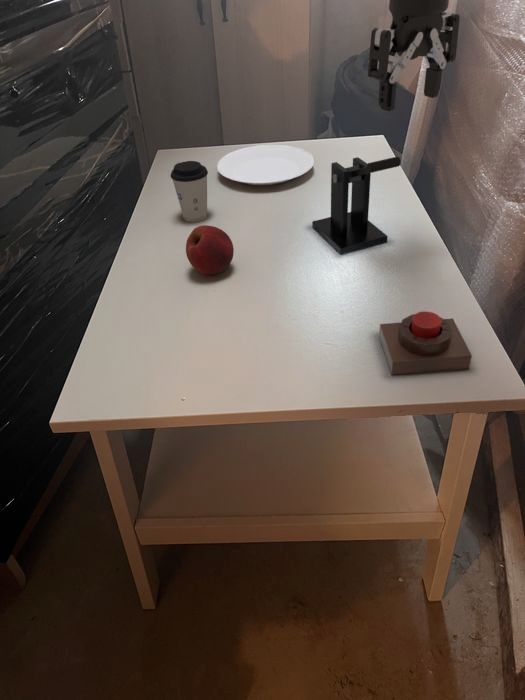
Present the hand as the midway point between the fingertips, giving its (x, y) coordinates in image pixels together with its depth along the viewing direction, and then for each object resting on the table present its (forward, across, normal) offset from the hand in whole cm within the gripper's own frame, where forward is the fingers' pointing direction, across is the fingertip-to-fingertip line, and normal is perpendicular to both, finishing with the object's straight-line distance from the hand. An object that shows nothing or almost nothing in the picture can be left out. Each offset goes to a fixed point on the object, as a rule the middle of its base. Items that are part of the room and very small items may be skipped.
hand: (409, 102), depth 84 cm
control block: (+24, -16, -22) cm, 36 cm away
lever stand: (+24, -3, +9) cm, 26 cm away
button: (+20, -16, -22) cm, 34 cm away
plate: (+24, +2, +42) cm, 48 cm away
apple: (+24, -28, +14) cm, 39 cm away
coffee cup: (+24, -20, +34) cm, 46 cm away
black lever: (+12, -4, +4) cm, 13 cm away
